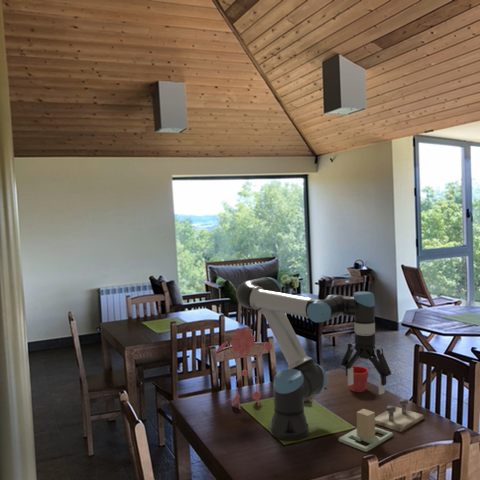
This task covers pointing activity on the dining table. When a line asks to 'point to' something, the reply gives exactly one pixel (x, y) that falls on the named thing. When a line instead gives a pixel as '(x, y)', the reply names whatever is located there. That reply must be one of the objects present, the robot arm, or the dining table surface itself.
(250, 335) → the pink tall branching figurine
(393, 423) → the board
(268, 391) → the dining table surface
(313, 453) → the dining table surface
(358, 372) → the flower pot
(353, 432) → the upright block on base
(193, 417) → the dining table surface
